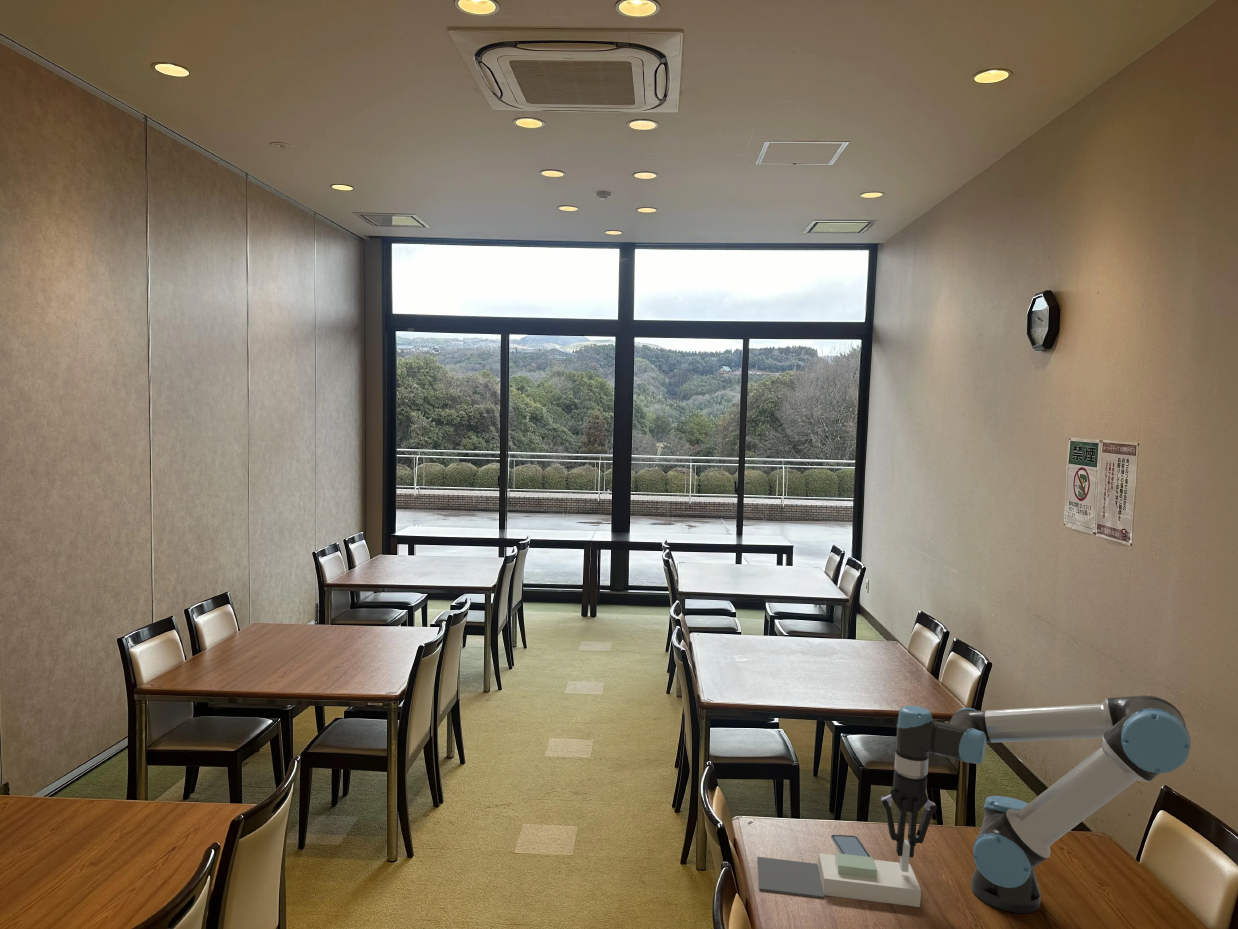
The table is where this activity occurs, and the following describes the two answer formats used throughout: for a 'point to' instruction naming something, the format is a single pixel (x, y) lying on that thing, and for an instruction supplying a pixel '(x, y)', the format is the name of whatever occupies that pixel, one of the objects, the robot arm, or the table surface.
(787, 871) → the mat
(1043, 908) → the table surface
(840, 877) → the board
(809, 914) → the table surface
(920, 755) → the robot arm
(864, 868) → the tile
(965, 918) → the table surface
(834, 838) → the smartphone
